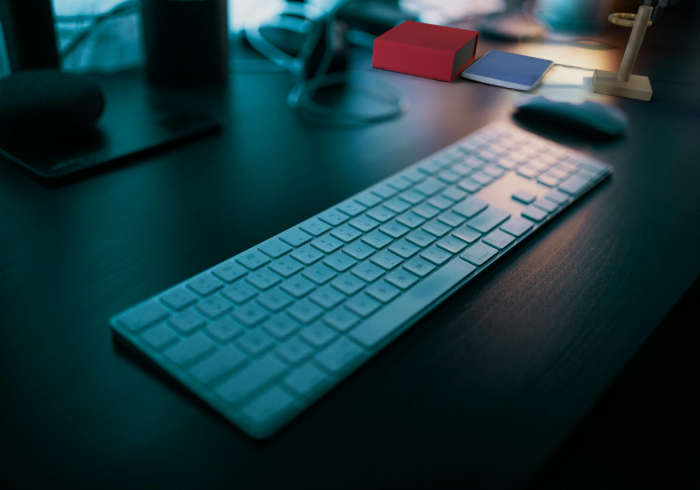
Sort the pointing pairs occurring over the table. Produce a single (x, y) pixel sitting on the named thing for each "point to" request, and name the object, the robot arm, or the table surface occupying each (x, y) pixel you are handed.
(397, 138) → the table surface
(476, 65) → the tablet
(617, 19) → the ring
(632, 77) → the stand
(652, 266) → the table surface
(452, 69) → the red box
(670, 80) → the table surface
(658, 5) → the robot arm
